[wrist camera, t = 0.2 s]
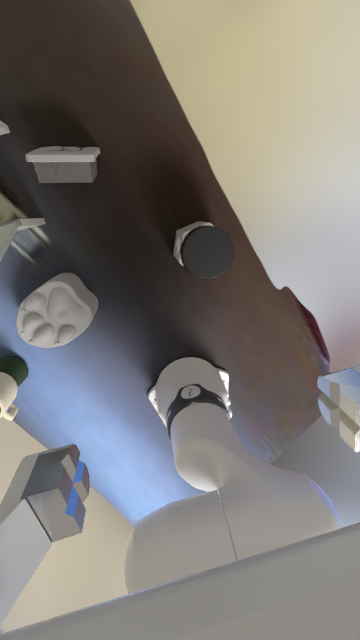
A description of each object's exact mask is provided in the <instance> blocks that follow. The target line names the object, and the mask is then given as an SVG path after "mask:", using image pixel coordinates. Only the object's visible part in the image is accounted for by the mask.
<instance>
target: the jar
mask: <svg viewBox="0 0 360 640" xmlns="http://www.w3.org/2000/svg"><path fill="white" fill-rule="evenodd" d="M173 255H174V256H175V258H176V259H177V260H178V262H179V263H180V264H182V265H183V266H184V267H185V269H186V270H187V271H188V272H189V273H190V274H191V275H193V276H195V277H197V278H200V279H206V280H207V279H214V278H216V277H219V276H220V275H222V274H223V273H224V272H225V271H226V270H227V269H228V268H229V266H230V265H231V262H232V260H233V255H234V248H233V243H232V241H231V239H230V237H229V235H228V234H227V233H226V232H225V231H223V230H222V229H220V228H218V227H215V226H213V225H212V224H211V223H209V222H201V221H198V222H195V223H193V224H191V225H188V226H186V227H183V228H181V229H179V230H177V231H176V238H175V245H174V252H173Z"/></svg>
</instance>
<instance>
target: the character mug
mask: <svg viewBox="0 0 360 640" xmlns="http://www.w3.org/2000/svg"><path fill="white" fill-rule="evenodd" d="M27 376H28V367H27V365H26V363H25V362H23V361H22V360H21V359H19V358H16V357H5V358H3V359H0V418H1V417H2V416H3V417H4V418H5V419H7V420H9V421H10V420H12V419H13V418H14V416H15V415H16V413H17V412H18V407H17V406H16V405H14V404H13V403H12V402H13V400H14V399H15V397H16V394H17V390H18V386H19V385H20V384H21V383H22V382H23V381H24V380H25V379H26V377H27ZM8 408H9V409H11V410H12V411H11V413H8V412H7V409H8Z"/></svg>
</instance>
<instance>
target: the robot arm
mask: <svg viewBox="0 0 360 640" xmlns="http://www.w3.org/2000/svg"><path fill="white" fill-rule="evenodd" d="M228 379H229V377H228V373H227V372H226V371H224V370H222V369H218V368H215V367H214V366H213V365H211V364H210V363H209V362H207V361H205V360H203V359H200V358H195V357H187V358H181V359H178V360H176V361H174V362H172V363H170V364H169V365H168V366H167V367H165V369H164V370H163V371H162V372H161V374H160V376H159V378H158V381H157V383H156V385H155V386H154V387H153V388H152V389H151V390H150V391H149V393H148V397H149V399H150V401H151V403H152V404H153V406H154V408H155V409H156V411H157V412H158V414H159V416H160V417H161V419H162V421H163V422H164V424H165V425H166V427H167V430H168V434H169V437H170V439H171V441H172V448H173V456H174V463H175V467H176V469H177V471H178V473H179V474H180V476H181V477H182V478H183V479H184V480H185V481H187V482H188V483H189V484H190V485H192V486H193V487H195V488H198V489H200V490H204V491H208V492H207V493H203V494H200V495H196V496H193V497H189V498H186V499H182V500H179V501H175V502H172V503H169V504H167V505H165V506H163V507H161V508H159V509H157V510H155V511H153V512H152V513H150V514H148V515H147V516H145V517H143V518H141V519H140V520H138V521H137V522H136V524H135V526H134V527H133V529H132V532H131V534H130V536H129V539H128V542H127V546H126V551H125V558H124V574H125V582H126V587H127V590H128V595H125V596H122V597H118V598H116V599H112V600H109V601H106V602H102V603H99V604H96V605H93V606H89V607H86V608H83V609H80V610H77V611H73V612H70V613H67V614H64V615H60V616H57V617H54V618H51V619H48V620H44V621H41V622H38V623H35V624H32V625H29V626H25V627H22V628H19V629H16V630H12V631H9V632H5V631H4V630H3V629H2V628H1V624H2V622H3V621H4V619H5V618H6V616H7V615H8V613H9V611H10V610H11V608H12V607H13V605H14V604H15V602H16V601H17V599H18V597H19V596H20V594H21V593H22V591H23V589H24V588H25V586H26V585H27V583H28V582H29V580H30V578H31V577H32V575H33V574H34V572H35V570H36V569H37V567H38V566H39V564H40V563H41V561H42V559H43V558H44V556H45V555H46V553H47V552H48V550H49V549H50V547H51V545H52V542H55V541H58V540H61V539H64V538H67V537H70V536H73V535H76V534H79V533H82V528H83V522H84V517H85V512H86V509H85V507H84V505H83V502H84V501H85V499H86V498H87V497H88V494H89V488H90V483H89V473H88V469H87V467H86V465H85V463H83V462H82V461H80V460H79V456H80V452H79V450H78V448H77V446H76V445H74V444H71V445H67V446H63V447H59V448H55V449H51V450H47V451H43V452H41V453H36V454H33V455H29V456H26V457H25V458H23V459H22V460H21V463H20V465H19V467H18V469H17V471H16V473H15V475H14V477H13V479H12V481H11V483H10V485H9V488H8V490H7V492H6V494H5V496H4V498H3V500H2V502H1V504H0V640H360V523H357V524H354V525H350V526H347V527H344V528H342V527H341V524H340V520H339V517H338V515H337V512H336V510H335V508H334V506H333V504H332V503H331V501H330V500H329V498H328V497H327V495H326V494H325V493H324V492H323V491H322V490H321V488H320V487H319V486H318V485H317V484H315V483H314V482H313V481H312V480H310V479H309V478H308V477H306V476H304V475H302V474H300V473H296V472H291V471H287V470H284V469H281V468H278V467H275V466H273V465H271V464H269V463H267V462H265V461H263V460H261V459H260V458H258V457H257V456H255V455H254V454H252V453H251V452H250V451H249V450H248V449H246V448H245V447H244V445H243V444H242V443H241V441H240V440H239V438H238V436H237V435H236V433H235V431H234V429H233V427H232V425H231V417H232V411H231V408H230V407H228V405H230V399H228V396H229V394H228ZM223 380H224V381H223ZM318 388H319V389H320V390H321V391H322V392H321V394H320V396H319V397H318V403H319V408H320V411H321V414H322V415H323V417H324V419H325V420H326V421H327V422H328V424H329V425H330V426H332V427H335V428H337V429H340V436H341V438H342V439H343V440H344V441H345V442H346V443H347V444H348V445H349V446H350V447H351V448H352V449H353V450H354V451H355V452H357V451H360V364H359V365H356V366H353V367H349V368H347V369H344V370H340V371H336V372H333V373H329V374H326V375H322V376H319V378H318ZM155 398H156V400H155ZM219 496H220V498H219ZM220 500H221V502H220ZM221 504H222V505H221ZM222 508H223V509H222ZM223 512H224V513H223ZM225 519H226V520H225ZM226 523H227V524H226ZM229 534H230V535H229ZM232 545H233V546H232ZM235 556H236V557H235ZM236 560H237V561H236Z"/></svg>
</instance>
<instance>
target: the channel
mask: <svg viewBox="0 0 360 640" xmlns="http://www.w3.org/2000/svg"><path fill="white" fill-rule="evenodd" d="M7 133H10V131H9V128H8V125H6V124H5V123H3V122H2V121H0V135H3V134H7ZM12 223H16V225H17V226H18V230H17V231H19V230H23V229H27V228H32V227H36V226H40V225H44V224H46V223H45V220H44V218H32V219H17V220H13V221H9V222H5V223H1V224H0V226H4V225H8V224H12Z"/></svg>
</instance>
